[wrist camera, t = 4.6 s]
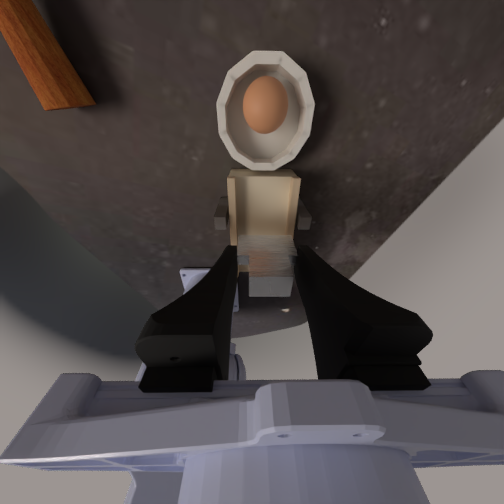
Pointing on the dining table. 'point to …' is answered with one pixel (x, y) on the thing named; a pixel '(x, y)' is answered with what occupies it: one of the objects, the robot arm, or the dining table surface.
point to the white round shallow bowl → (292, 129)
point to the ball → (265, 104)
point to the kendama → (41, 57)
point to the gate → (268, 263)
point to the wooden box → (261, 205)
